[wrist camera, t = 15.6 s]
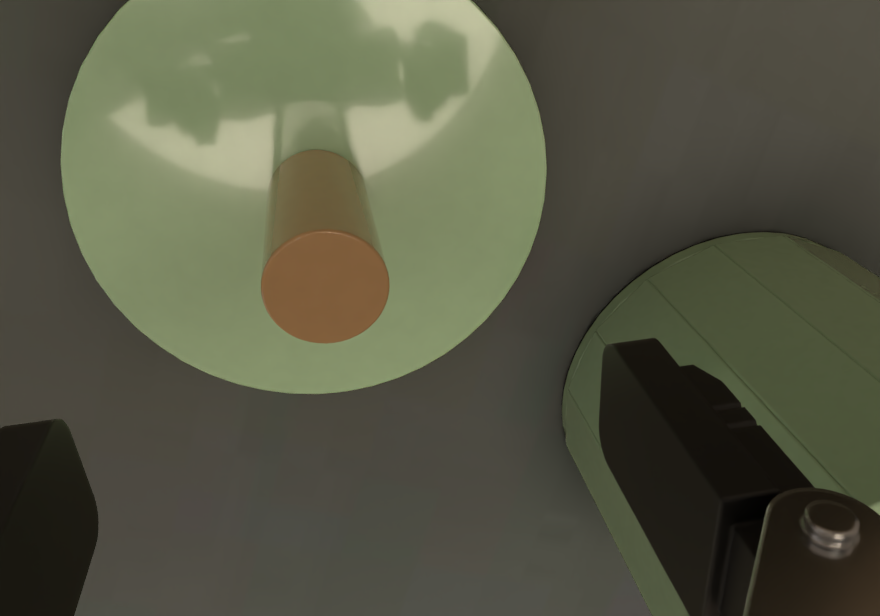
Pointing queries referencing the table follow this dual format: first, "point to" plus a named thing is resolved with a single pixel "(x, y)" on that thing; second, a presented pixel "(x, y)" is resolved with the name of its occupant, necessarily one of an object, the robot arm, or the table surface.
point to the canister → (746, 367)
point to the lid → (304, 182)
